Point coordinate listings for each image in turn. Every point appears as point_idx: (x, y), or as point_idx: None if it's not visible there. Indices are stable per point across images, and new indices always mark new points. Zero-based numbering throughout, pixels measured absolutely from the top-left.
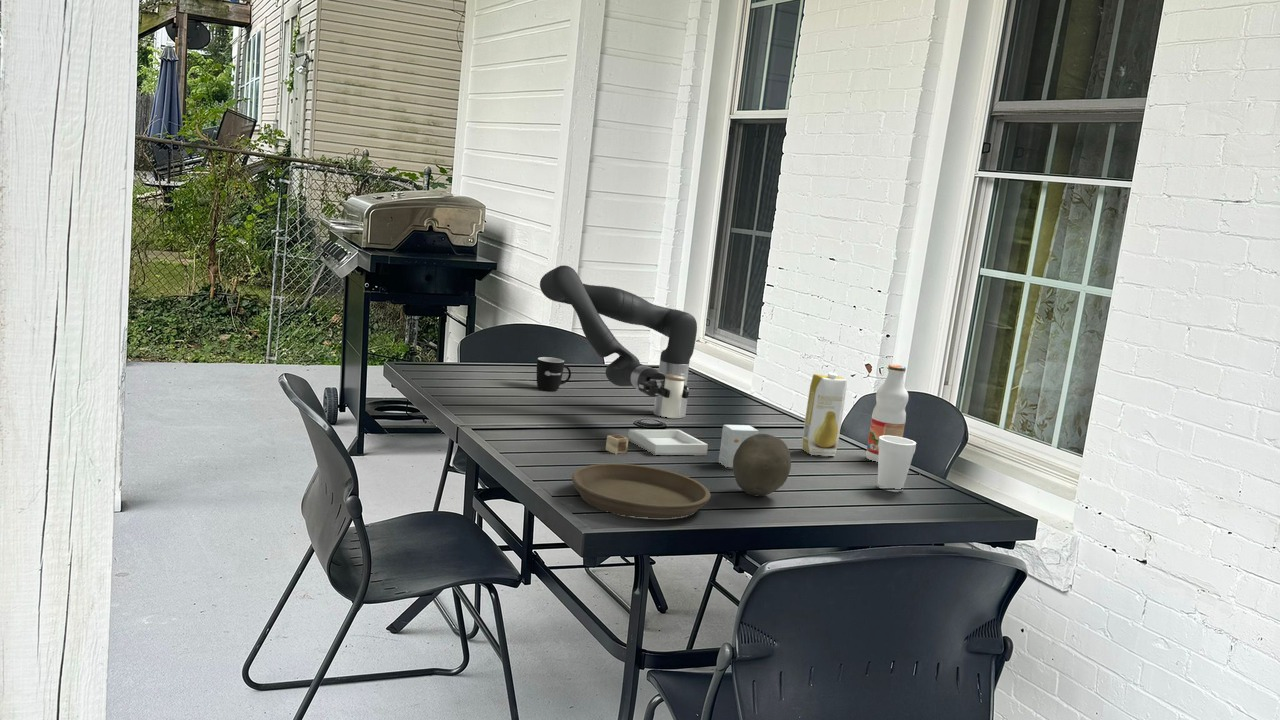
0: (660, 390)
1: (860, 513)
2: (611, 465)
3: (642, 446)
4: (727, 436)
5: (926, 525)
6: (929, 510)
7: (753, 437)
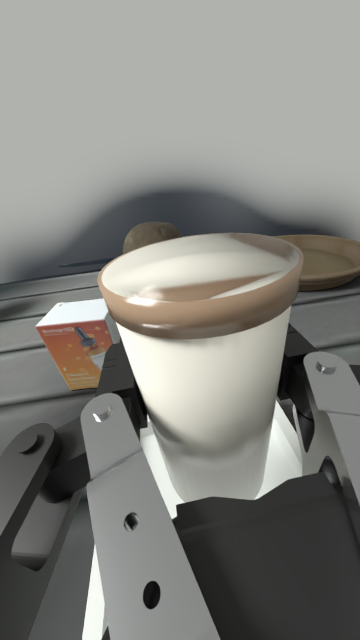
0: (305, 346)
1: (93, 279)
2: (339, 272)
3: None
4: None
5: (64, 274)
6: (18, 291)
7: (166, 223)
